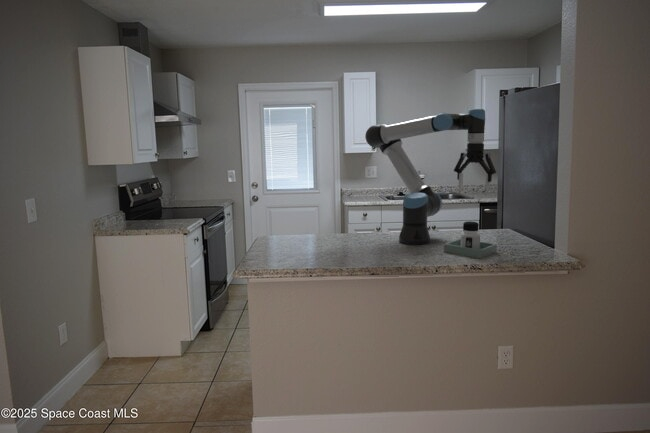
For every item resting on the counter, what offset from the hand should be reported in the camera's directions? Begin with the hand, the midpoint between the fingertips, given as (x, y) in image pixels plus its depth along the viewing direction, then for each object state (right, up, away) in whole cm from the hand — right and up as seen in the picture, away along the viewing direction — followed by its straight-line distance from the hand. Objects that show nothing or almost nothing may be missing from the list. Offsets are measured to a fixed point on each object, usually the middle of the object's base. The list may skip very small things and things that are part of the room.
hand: (473, 187), depth 237 cm
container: (-6, -29, -13) cm, 32 cm away
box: (-5, -30, -13) cm, 33 cm away
